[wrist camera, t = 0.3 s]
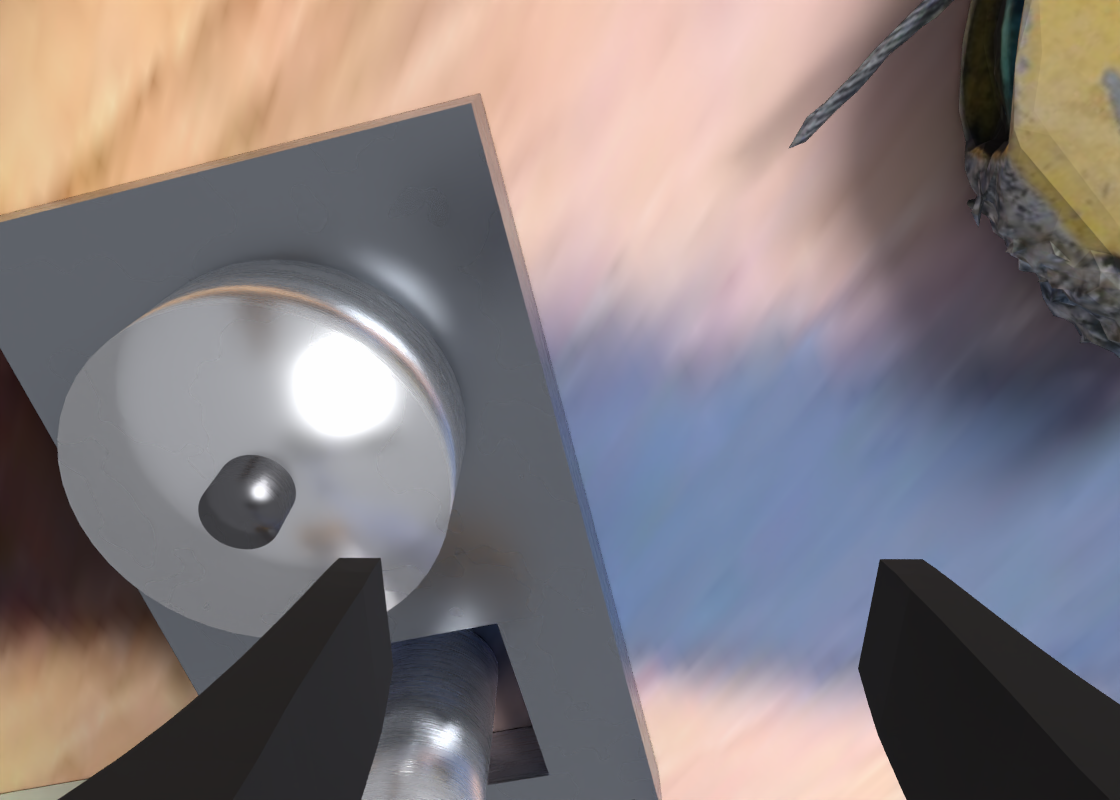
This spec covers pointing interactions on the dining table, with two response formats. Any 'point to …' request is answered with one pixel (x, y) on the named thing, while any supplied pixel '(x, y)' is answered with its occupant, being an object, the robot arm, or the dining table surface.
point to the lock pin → (437, 720)
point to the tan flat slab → (1038, 142)
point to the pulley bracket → (331, 416)
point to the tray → (42, 792)
